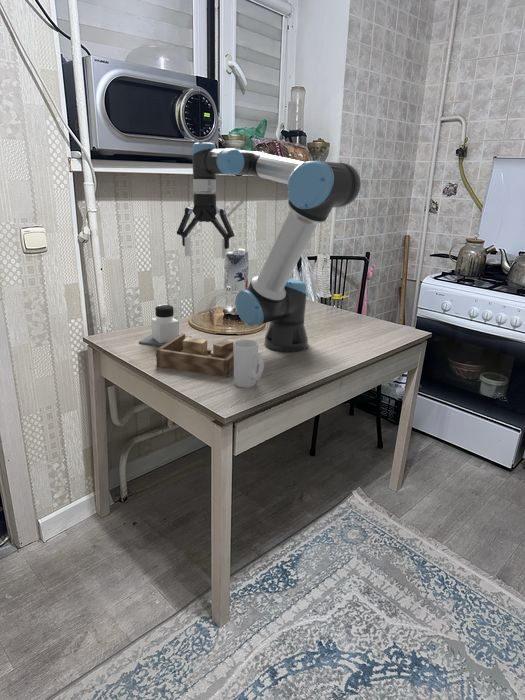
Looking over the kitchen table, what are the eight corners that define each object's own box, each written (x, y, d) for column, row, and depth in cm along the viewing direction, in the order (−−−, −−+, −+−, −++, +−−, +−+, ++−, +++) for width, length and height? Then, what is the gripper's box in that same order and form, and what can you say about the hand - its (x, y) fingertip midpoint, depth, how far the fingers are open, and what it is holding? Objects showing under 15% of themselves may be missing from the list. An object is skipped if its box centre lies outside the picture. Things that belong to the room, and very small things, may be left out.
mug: (228, 382, 135) (228, 342, 131) (245, 376, 139) (246, 337, 135) (253, 394, 128) (254, 352, 124) (270, 387, 133) (272, 347, 129)
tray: (246, 357, 153) (247, 342, 152) (227, 377, 138) (227, 360, 136) (182, 348, 160) (181, 333, 158) (156, 365, 144) (156, 349, 143)
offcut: (207, 354, 156) (207, 339, 154) (202, 358, 152) (202, 343, 151) (187, 351, 157) (187, 337, 156) (183, 355, 154) (182, 340, 152)
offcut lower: (237, 359, 153) (237, 350, 152) (235, 363, 150) (236, 354, 149) (212, 357, 154) (212, 349, 152) (210, 362, 150) (210, 353, 149)
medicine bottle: (179, 340, 165) (178, 307, 161) (160, 343, 161) (158, 309, 157) (170, 334, 170) (169, 302, 166) (151, 337, 167) (150, 304, 162)
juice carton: (222, 315, 198) (223, 250, 188) (228, 309, 207) (228, 246, 198) (243, 317, 197) (245, 251, 187) (248, 310, 206) (249, 247, 197)
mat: (191, 338, 170) (191, 336, 169) (175, 348, 159) (175, 347, 159) (156, 333, 173) (156, 331, 173) (138, 343, 162) (138, 341, 162)
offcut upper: (225, 348, 154) (225, 339, 153) (233, 350, 152) (233, 341, 151) (213, 353, 149) (213, 344, 148) (220, 355, 147) (220, 346, 146)
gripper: (243, 194, 160) (243, 257, 167) (174, 191, 165) (177, 253, 172) (236, 194, 153) (236, 260, 160) (165, 192, 159) (168, 256, 166)
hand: (205, 257), depth 166 cm, fingers open, 13 cm apart
